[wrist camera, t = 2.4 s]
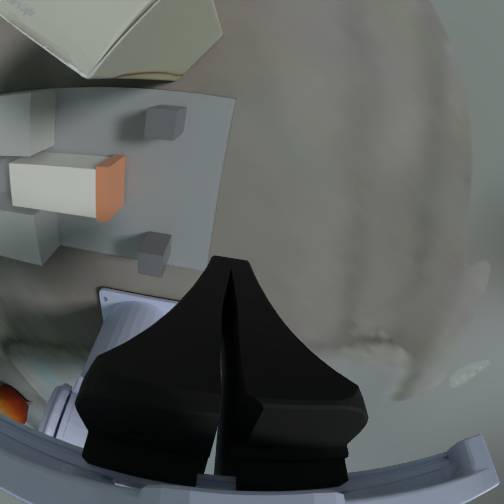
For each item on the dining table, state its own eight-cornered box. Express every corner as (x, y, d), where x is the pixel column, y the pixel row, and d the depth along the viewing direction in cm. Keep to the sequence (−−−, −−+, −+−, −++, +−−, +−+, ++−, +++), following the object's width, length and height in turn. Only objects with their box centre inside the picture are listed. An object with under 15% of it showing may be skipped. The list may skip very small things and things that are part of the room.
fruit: (32, 420, 38) (3, 435, 31) (11, 383, 39) (-19, 396, 32) (44, 414, 36) (11, 432, 28) (21, 373, 37) (-13, 387, 29)
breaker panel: (207, 263, 23) (201, 297, 19) (-6, 225, 20) (-31, 247, 17) (236, 98, 17) (233, 101, 13) (-15, 96, 14) (-48, 105, 11)
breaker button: (123, 204, 19) (107, 222, 17) (34, 193, 18) (13, 208, 16) (125, 155, 17) (108, 167, 15) (32, 149, 16) (8, 160, 14)
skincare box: (112, 31, 14) (-23, 5, 3) (159, -18, 12) (66, -103, 2) (179, 84, 16) (82, 89, 6) (230, 34, 15) (206, -44, 4)
